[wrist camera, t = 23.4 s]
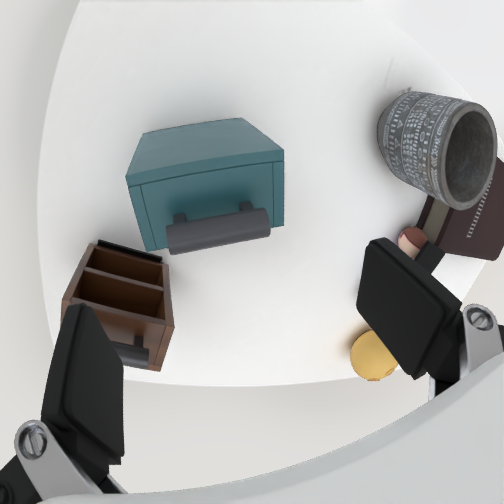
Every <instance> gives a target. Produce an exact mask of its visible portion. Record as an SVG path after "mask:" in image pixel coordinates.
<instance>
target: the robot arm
mask: <svg viewBox="0 0 504 504" xmlns="http://www.w3.org/2000/svg"><path fill="white" fill-rule="evenodd" d="M461 305H462V302H461V301H460V300H459V299H457V298H456V297H455V296H454V295H453V294H452V293H451V292H450V291H449V290H448V289H447V288H446V287H444V286H443V285H442V284H441V283H440V282H439V281H438V280H437V279H435V278H434V277H433V276H432V275H431V274H430V273H429V272H427V271H426V270H425V269H424V268H423V267H422V266H420V265H419V264H418V263H417V262H416V261H415V260H413V259H412V258H411V257H410V256H409V255H407V254H406V253H405V252H404V251H402V250H401V249H400V248H399V247H398V246H396V245H395V244H394V243H393V242H391V241H390V240H389V239H387V238H385V237H383V238H379V239H375V240H371V241H370V242H369V245H368V246H367V247H366V250H365V256H364V262H363V269H362V275H361V280H360V286H359V291H358V296H357V302H356V306H357V310H358V312H359V313H360V314H361V316H362V317H363V318H364V319H365V321H366V322H367V323H368V324H369V326H370V327H371V328H372V330H373V331H374V332H375V333H376V335H377V336H378V337H379V339H380V340H381V341H382V343H383V344H384V345H385V346H386V348H387V349H388V350H389V352H390V353H391V354H392V356H393V357H394V358H395V360H396V361H397V362H398V364H399V365H400V366H401V368H402V369H403V370H404V372H405V373H407V374H408V375H411V376H412V378H413V379H414V380H416V379H418V378H419V377H421V376H423V375H425V374H426V372H428V374H429V375H430V383H429V398H428V402H427V403H426V404H424V405H422V406H421V407H419V408H417V409H416V410H414V411H413V412H411V413H409V414H408V415H406V416H404V417H402V418H401V419H399V420H397V421H395V422H393V423H391V424H389V425H388V426H386V427H384V428H382V429H380V430H378V431H376V432H374V433H372V434H370V435H368V436H366V437H364V438H362V439H360V440H357V441H355V442H353V443H351V444H348V445H346V446H344V447H341V448H339V449H337V450H334V451H332V452H329V453H327V454H324V455H322V456H319V457H316V458H314V459H311V460H308V461H305V462H302V463H300V464H296V465H293V466H290V467H287V468H284V469H281V470H278V471H274V472H270V473H267V474H263V475H259V476H255V477H251V478H247V479H243V480H238V481H233V482H229V483H224V484H219V485H213V486H207V487H200V488H193V489H186V490H177V491H165V492H153V493H134V494H128V493H127V492H126V491H125V490H124V489H123V488H122V487H121V486H120V485H119V484H118V483H117V482H116V481H115V480H114V478H112V476H111V475H110V474H109V465H121V457H123V456H124V433H123V371H124V369H123V363H122V360H121V358H120V357H119V355H118V353H117V352H116V350H115V348H114V347H113V345H112V343H111V341H110V340H109V338H108V336H107V334H106V333H105V331H104V329H103V327H102V325H101V323H100V321H99V320H98V318H97V316H96V314H95V312H94V310H93V308H92V307H91V306H87V305H86V304H85V303H77V304H72V305H69V306H68V307H67V309H66V312H65V315H64V318H63V321H62V324H61V328H60V331H59V335H58V338H57V342H56V345H55V349H54V353H53V357H52V361H51V365H50V369H49V374H48V378H47V383H46V389H45V393H44V399H43V405H42V411H41V421H38V420H30V421H27V422H25V423H24V424H22V425H21V426H20V428H19V429H18V431H17V433H16V435H15V440H14V446H15V450H16V455H15V456H14V457H13V458H12V459H11V460H10V461H9V462H8V463H7V464H6V465H5V466H4V468H3V469H2V470H0V504H504V326H503V325H498V324H497V320H496V318H495V316H494V315H493V313H492V312H491V311H490V310H489V309H488V308H486V307H484V306H482V305H479V304H470V305H467V306H466V307H465V308H464V310H463V312H461V311H460V310H459V309H460V307H461Z"/></svg>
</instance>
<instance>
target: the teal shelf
mask: <svg viewBox="0 0 504 504" xmlns="http://www.w3.org/2000/svg"><path fill="white" fill-rule="evenodd" d="M283 160H284V149H282V148H281V147H280V146H279V145H277V144H276V143H275V142H273V141H272V140H271V139H270V138H268V137H267V136H266V135H264V134H263V133H262V132H260V131H259V130H258V129H256V128H255V127H254V126H252V125H251V124H250V123H248V122H247V121H246V120H244V119H243V118H234V119H226V120H218V121H210V122H204V123H197V124H191V125H185V126H179V127H174V128H168V129H163V130H158V131H153V132H149V133H144V134H143V135H142V137H141V139H140V142H139V144H138V146H137V149H136V151H135V153H134V156H133V158H132V161H131V163H130V166H129V168H128V171H127V174H126V181H127V185H128V189H129V193H130V197H131V201H132V204H133V208H134V212H135V215H136V219H137V222H138V225H139V229H140V232H141V236H142V239H143V242H144V245H145V248H146V251H147V252H150V251H155V250H160V249H165V248H169V252H170V254H171V255H177V254H182V253H187V252H192V251H197V250H202V249H207V248H212V247H217V246H222V245H227V244H233V243H238V242H243V241H248V240H253V239H259V238H264V237H268V236H270V231H271V228H273V227H280V226H284V161H283Z"/></svg>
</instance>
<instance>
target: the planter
mask: <svg viewBox="0 0 504 504" xmlns="http://www.w3.org/2000/svg"><path fill="white" fill-rule="evenodd" d="M377 138H378V143H379V146H380V149H381V152H382V154H383V157H384V159H385V161H386V163H387V165H388V167H389V168H390V170H391V171H392V172H393V174H394V175H395V176H396V177H398V178H399V179H401V180H402V181H404V182H406V183H408V184H410V185H412V186H414V187H416V188H418V189H420V190H422V191H423V192H425V193H427V194H429V195H430V196H432V197H434V198H436V199H438V200H440V201H442V202H444V203H445V204H447V205H449V206H450V207H452V208H454V209H456V210H466V209H469V208H471V207H472V206H474V205H475V204H476V203H477V202H478V201H479V200H480V199H481V197H482V196H483V195H484V193H485V191H486V190H487V188H488V186H489V184H490V181H491V179H492V176H493V173H494V169H495V164H496V158H497V133H496V129H495V125H494V122H493V120H492V117H491V116H490V114H489V113H488V111H487V110H486V109H485V108H484V107H483V106H481V105H479V104H477V103H473V102H469V101H465V100H461V99H457V98H452V97H446V96H440V95H435V94H431V93H425V92H408V93H405V94H403V95H402V96H400V97H398V98H397V99H396V100H395V101H393V102H392V103H391V104H390V105H389V106H388V107H387V108H386V109H385V111H384V112H383V113H382V115H381V117H380V120H379V123H378V128H377Z"/></svg>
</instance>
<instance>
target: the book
mask: <svg viewBox="0 0 504 504" xmlns="http://www.w3.org/2000/svg"><path fill="white" fill-rule="evenodd" d="M416 227H417V228H419V229H421V230H422V231H423V232H424V233H425V235H426V237H427V240H428V241H430V242H431V243H433V244H434V245H436V246H437V247H439V248H440V249H442V250H443V251H444V252H446V253H449V254H455V255H461V256H467V257H473V258H479V259H485V260H491V261H494V260H496V259H497V258H498V257H499V255H500V253H501V250H502V248H503V246H504V163H503V162H502V161H501V160H500V159H499V158H498V157H497V158H496V164H495V169H494V173H493V176H492V179H491V181H490V184H489V186H488V188H487V190H486V191H485V193H484V195H483V196H482V197H481V199H480V200H479V201H478V202H477V203H476V204H475V205H474V206H472V207H471V208H469V209H466V210H456V209H454V208H452V207H450V206H449V205H447V204H445V203H444V202H442V201H440V200H438V199H436V198H434V197H432V196H430V195H428V198H427V200H426V203H425V206H424V208H423V211H422V213H421V216H420V218H419V221H418V223H417V226H416Z"/></svg>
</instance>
